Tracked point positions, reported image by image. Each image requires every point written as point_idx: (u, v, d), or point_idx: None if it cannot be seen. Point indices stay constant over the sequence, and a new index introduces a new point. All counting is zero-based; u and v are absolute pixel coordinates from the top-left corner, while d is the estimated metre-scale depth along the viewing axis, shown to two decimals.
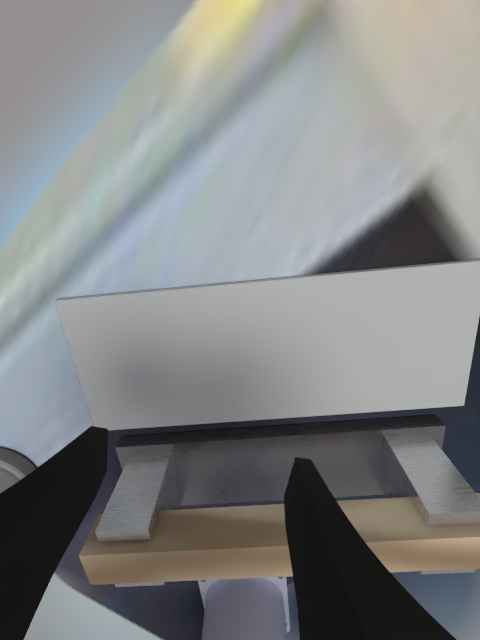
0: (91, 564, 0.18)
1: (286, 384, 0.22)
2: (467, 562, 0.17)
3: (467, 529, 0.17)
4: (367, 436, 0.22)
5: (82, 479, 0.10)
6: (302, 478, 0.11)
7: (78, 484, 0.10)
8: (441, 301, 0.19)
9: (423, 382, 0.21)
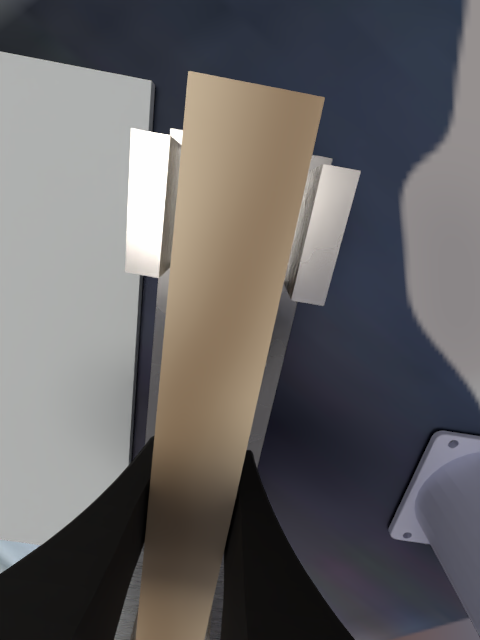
0: None
1: (78, 358, 0.16)
2: (274, 204, 0.06)
3: None
4: None
5: None
6: None
7: None
8: None
9: (93, 157, 0.13)
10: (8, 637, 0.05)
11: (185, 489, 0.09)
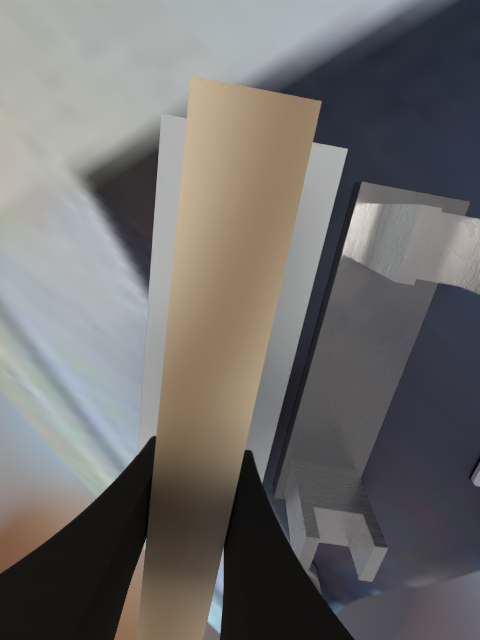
0: None
1: None
2: (273, 204, 0.07)
3: None
4: (343, 277, 0.19)
5: None
6: None
7: (150, 495, 0.10)
8: None
9: None
10: (8, 636, 0.05)
11: (187, 482, 0.09)
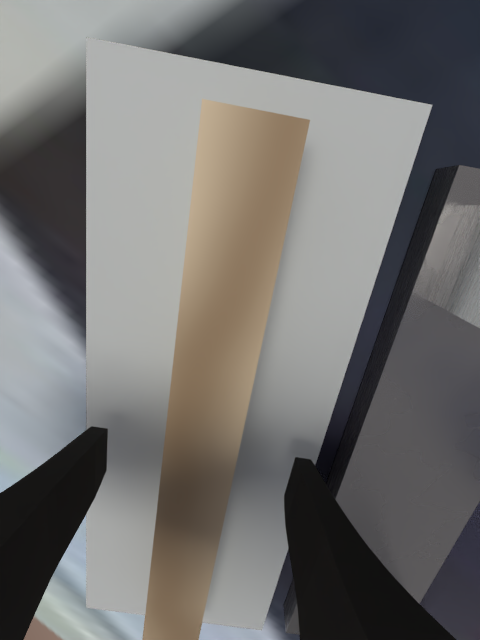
0: None
1: (261, 424, 0.13)
2: (270, 204, 0.08)
3: None
4: (411, 331, 0.11)
5: (82, 479, 0.10)
6: (302, 478, 0.11)
7: (79, 485, 0.10)
8: (159, 147, 0.10)
9: (335, 197, 0.10)
10: None
11: (194, 449, 0.11)
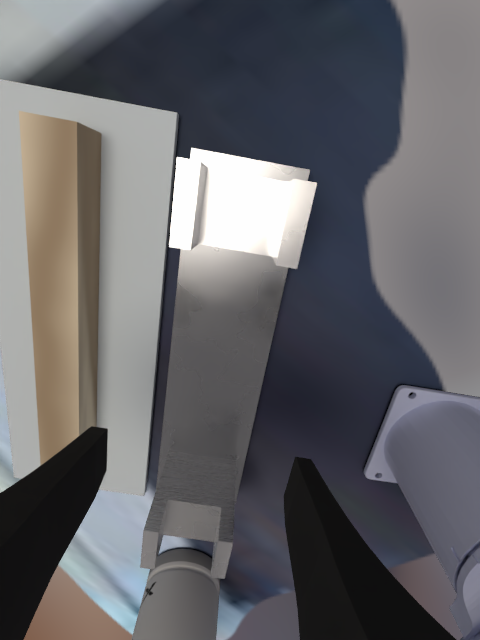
0: None
1: (114, 325, 0.20)
2: (65, 168, 0.15)
3: None
4: (188, 253, 0.18)
5: (82, 479, 0.10)
6: (302, 478, 0.11)
7: (79, 485, 0.10)
8: None
9: (132, 168, 0.17)
10: None
11: (51, 325, 0.17)
